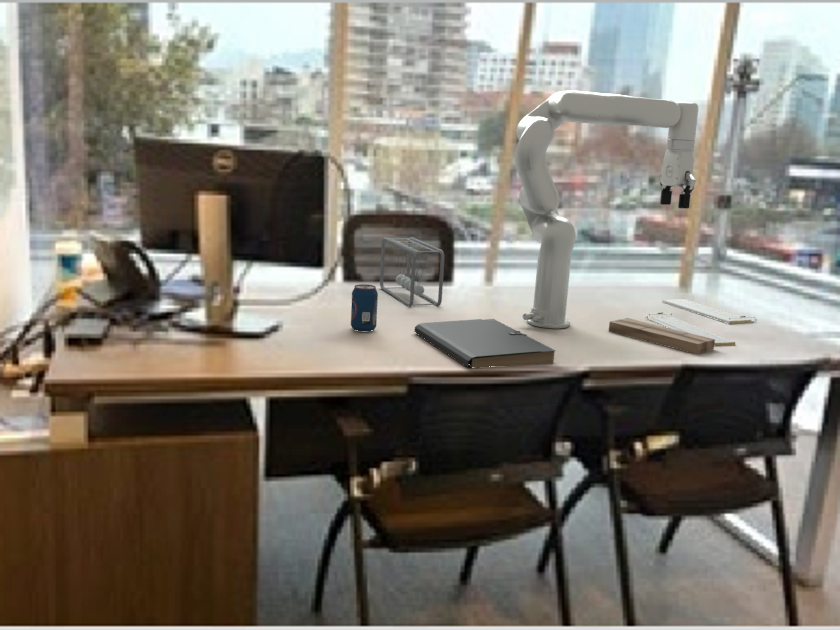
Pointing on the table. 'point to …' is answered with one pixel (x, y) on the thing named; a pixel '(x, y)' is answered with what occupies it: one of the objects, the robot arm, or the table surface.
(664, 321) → the baseboard
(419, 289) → the newton's cradle
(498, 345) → the dark grey book
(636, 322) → the plank row
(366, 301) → the soda can
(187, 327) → the table surface
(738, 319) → the baseboard molding
